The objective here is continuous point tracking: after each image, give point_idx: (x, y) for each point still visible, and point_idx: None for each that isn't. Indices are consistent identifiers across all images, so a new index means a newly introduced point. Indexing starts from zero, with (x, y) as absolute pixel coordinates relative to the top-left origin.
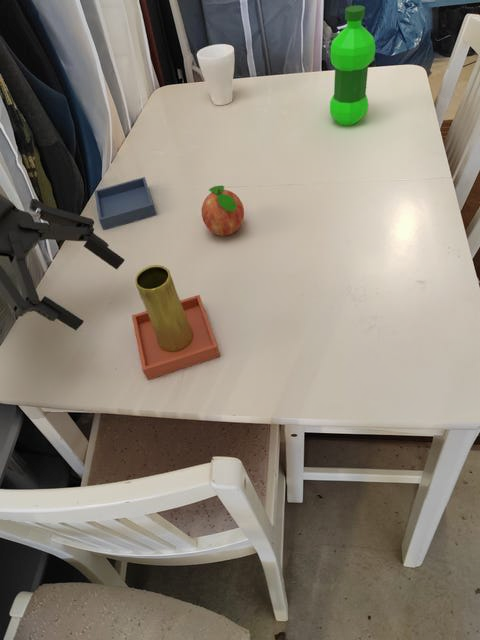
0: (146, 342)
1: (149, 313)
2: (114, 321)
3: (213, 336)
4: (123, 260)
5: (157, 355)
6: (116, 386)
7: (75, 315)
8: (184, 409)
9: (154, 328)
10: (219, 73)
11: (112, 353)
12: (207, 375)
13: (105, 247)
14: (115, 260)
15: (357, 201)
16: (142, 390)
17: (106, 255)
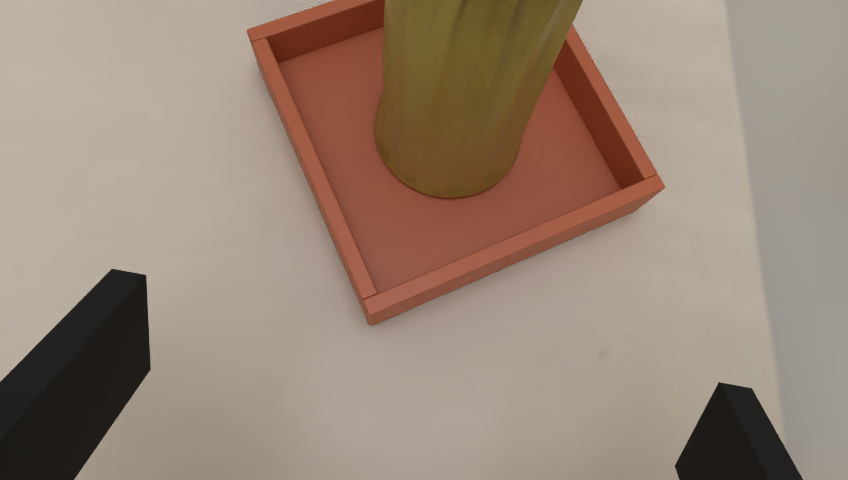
0: (480, 243)
1: (563, 42)
2: (343, 448)
3: None
4: (122, 274)
5: (541, 182)
6: (681, 326)
7: (742, 431)
8: (724, 66)
9: (492, 147)
10: None
11: (528, 396)
12: (589, 13)
13: (19, 382)
14: (122, 331)
15: None
16: (680, 220)
17: (80, 397)
